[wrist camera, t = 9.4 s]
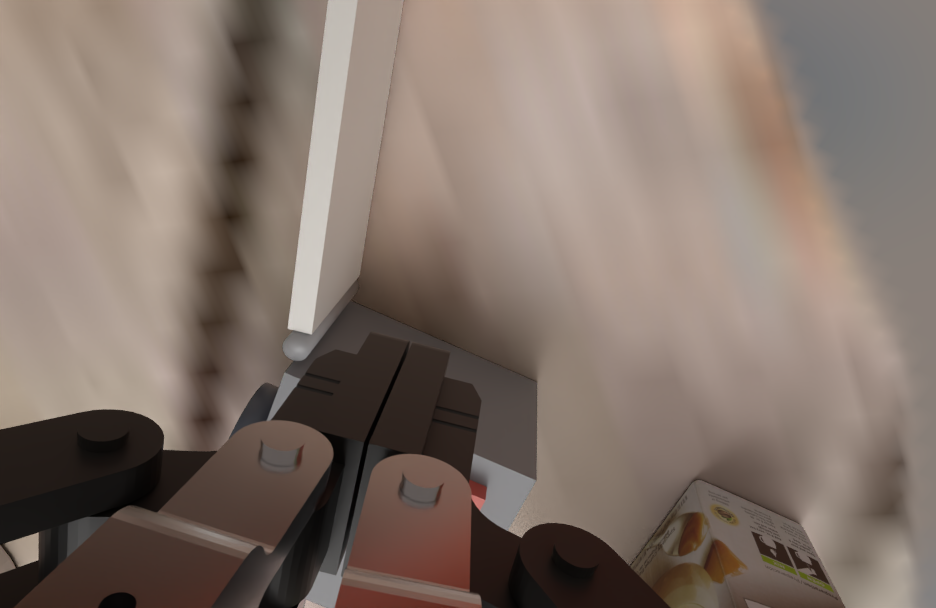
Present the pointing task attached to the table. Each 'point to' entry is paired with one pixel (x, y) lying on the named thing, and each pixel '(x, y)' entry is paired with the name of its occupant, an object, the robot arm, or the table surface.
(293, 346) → the side door
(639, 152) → the table surface
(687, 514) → the coffee box
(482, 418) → the block
